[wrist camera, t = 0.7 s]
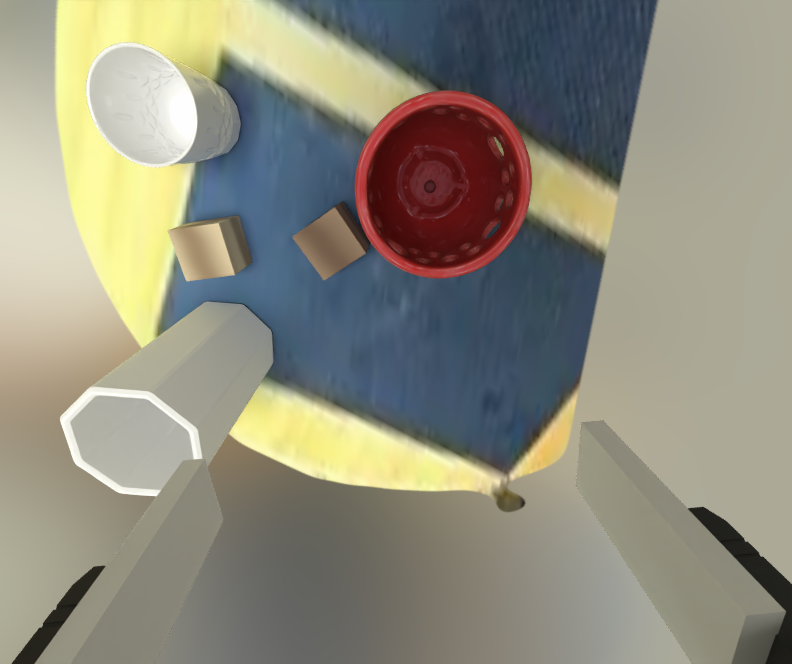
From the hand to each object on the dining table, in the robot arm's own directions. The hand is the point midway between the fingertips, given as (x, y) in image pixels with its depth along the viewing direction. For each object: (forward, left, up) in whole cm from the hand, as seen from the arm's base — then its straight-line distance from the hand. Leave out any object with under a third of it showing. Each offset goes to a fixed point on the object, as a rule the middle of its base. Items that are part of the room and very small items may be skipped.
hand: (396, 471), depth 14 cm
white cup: (+14, -18, -32) cm, 39 cm away
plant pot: (-5, -6, -32) cm, 33 cm away
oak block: (+18, -7, -32) cm, 37 cm away
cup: (+23, +4, -32) cm, 39 cm away
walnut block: (+6, -4, -32) cm, 32 cm away
